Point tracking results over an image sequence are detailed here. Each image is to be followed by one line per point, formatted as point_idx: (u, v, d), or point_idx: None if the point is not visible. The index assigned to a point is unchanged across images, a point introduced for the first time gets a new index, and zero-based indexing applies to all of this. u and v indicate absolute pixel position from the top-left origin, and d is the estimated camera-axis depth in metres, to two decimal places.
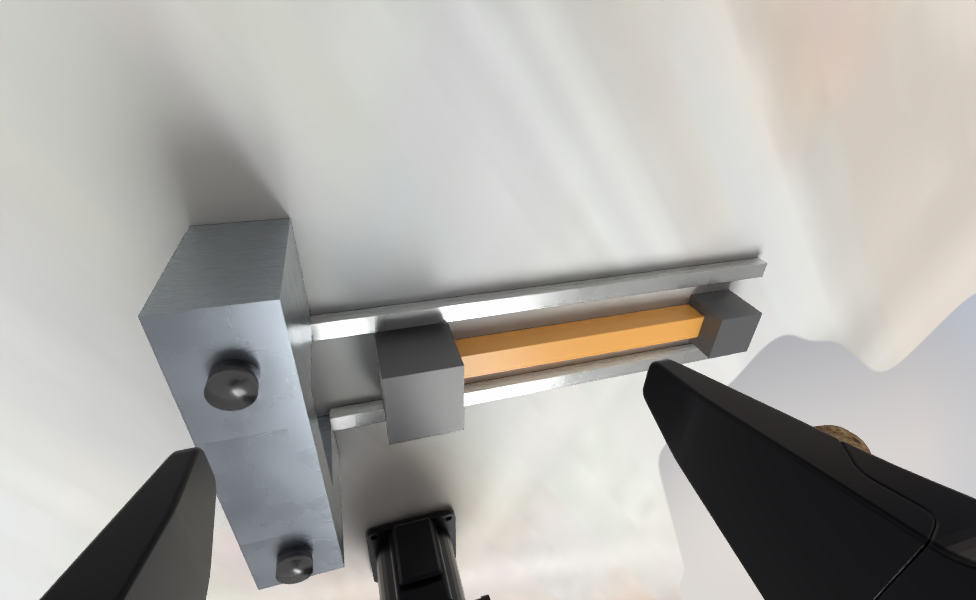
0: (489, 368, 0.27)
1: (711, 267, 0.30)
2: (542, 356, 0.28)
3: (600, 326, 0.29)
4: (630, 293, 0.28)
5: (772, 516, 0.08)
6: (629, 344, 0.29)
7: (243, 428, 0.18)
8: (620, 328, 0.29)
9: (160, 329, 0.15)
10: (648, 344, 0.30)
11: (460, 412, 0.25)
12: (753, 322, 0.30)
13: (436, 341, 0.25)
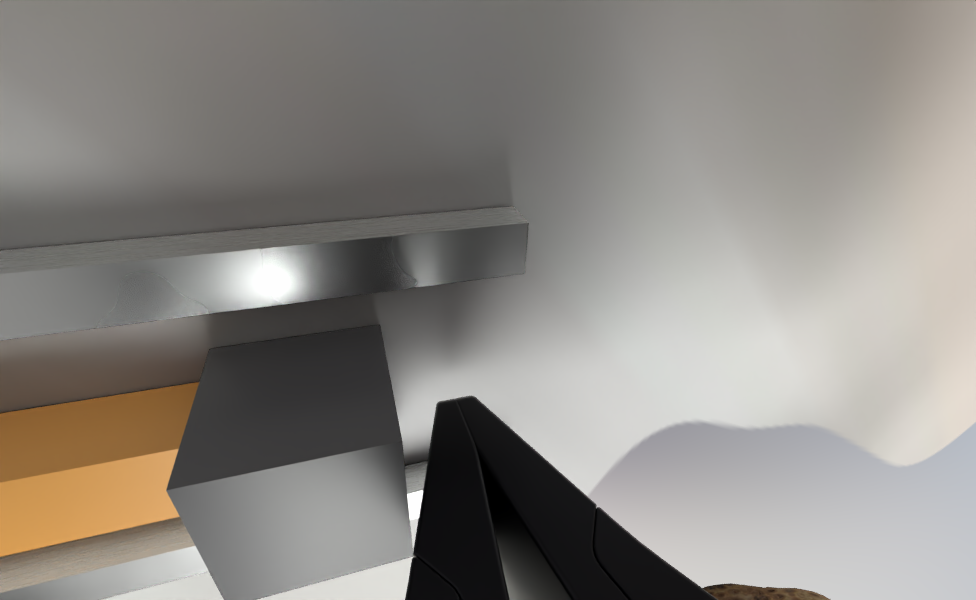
0: None
1: (277, 237, 0.07)
2: None
3: None
4: None
5: (526, 593, 0.07)
6: None
7: None
8: None
9: None
10: None
11: None
12: (375, 475, 0.07)
13: None
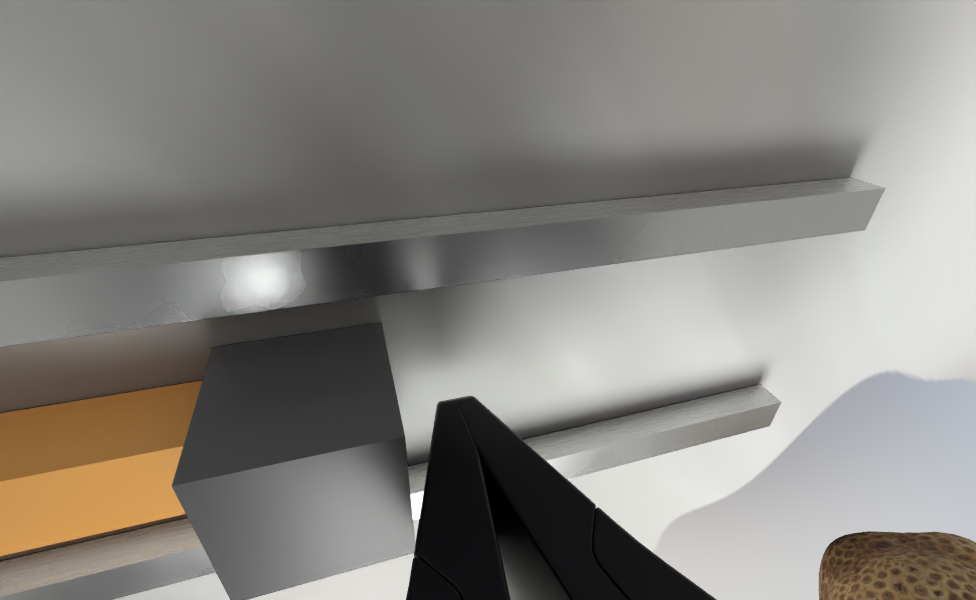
0: None
1: (724, 197, 0.10)
2: None
3: None
4: (452, 276, 0.08)
5: (525, 593, 0.07)
6: None
7: None
8: None
9: None
10: None
11: None
12: (379, 470, 0.07)
13: None
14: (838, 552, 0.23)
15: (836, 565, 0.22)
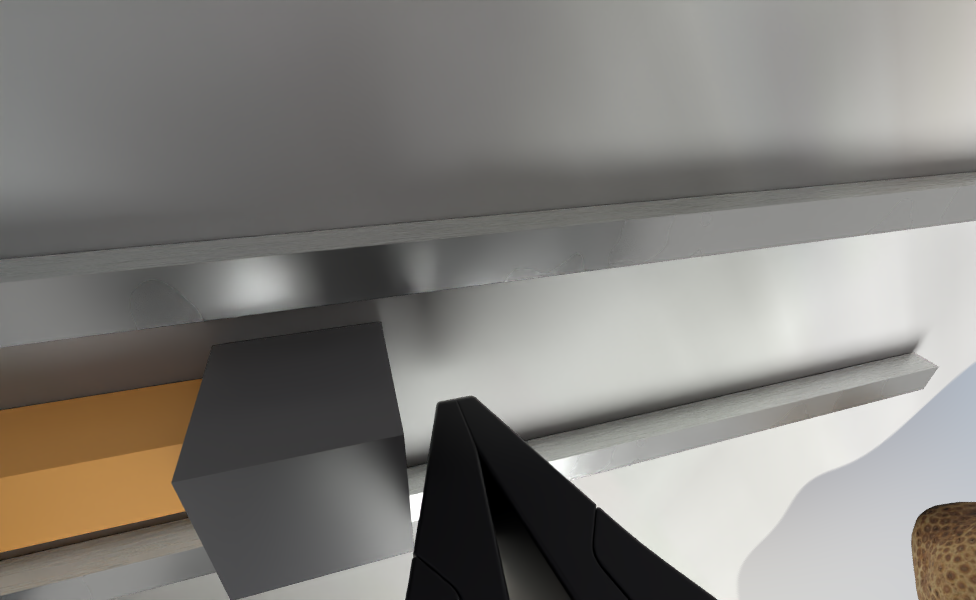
0: None
1: (949, 181, 0.12)
2: None
3: None
4: (759, 241, 0.10)
5: (526, 593, 0.07)
6: None
7: None
8: None
9: None
10: None
11: None
12: (377, 468, 0.07)
13: None
14: (933, 519, 0.25)
15: (933, 531, 0.24)
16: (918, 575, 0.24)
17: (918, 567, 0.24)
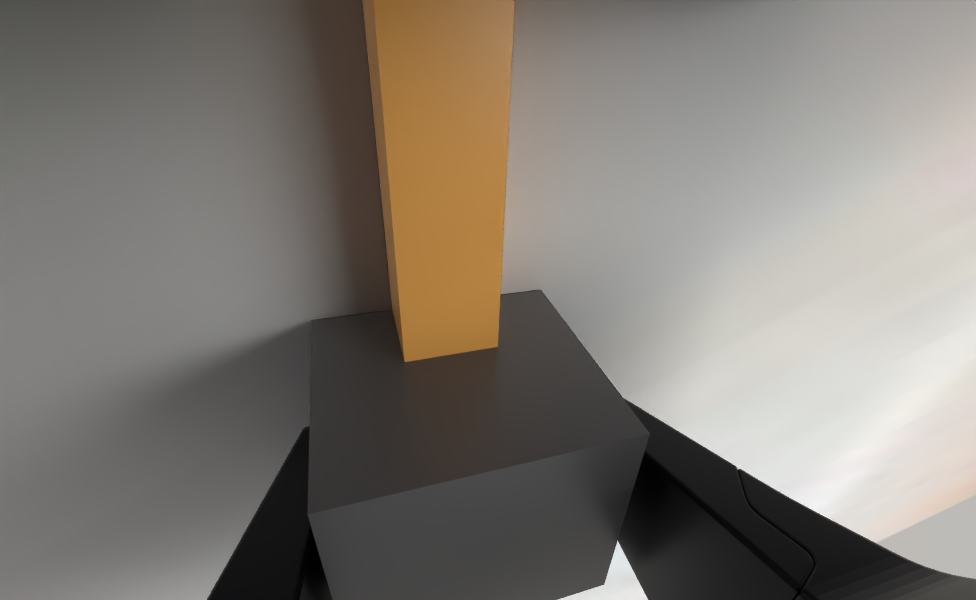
0: (476, 236, 0.07)
1: None
2: None
3: None
4: None
5: (668, 549, 0.07)
6: None
7: None
8: None
9: None
10: None
11: (560, 464, 0.06)
12: None
13: None
14: None
15: None
16: None
17: None
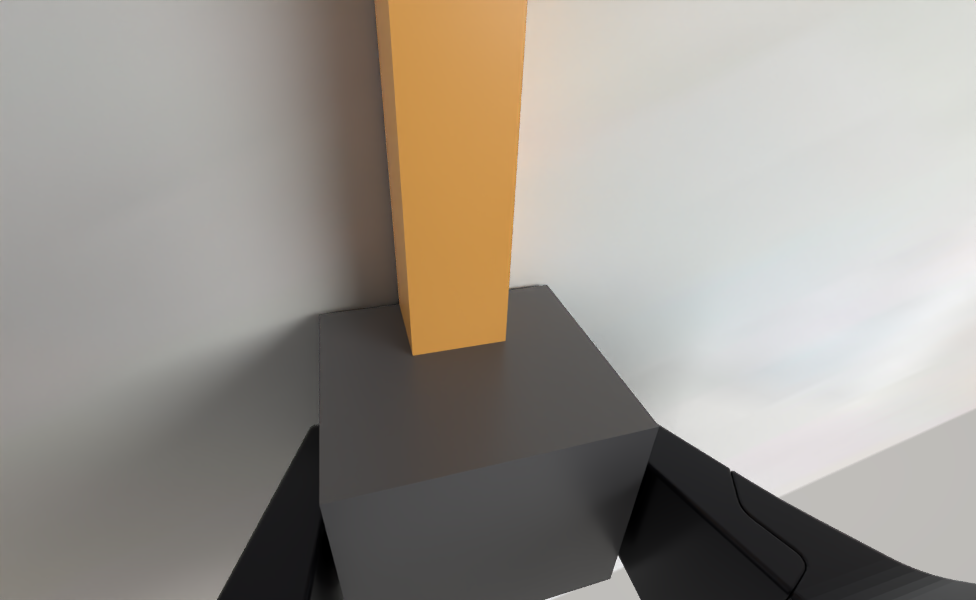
0: (485, 229, 0.07)
1: None
2: None
3: None
4: None
5: (661, 551, 0.07)
6: None
7: None
8: None
9: None
10: None
11: (570, 457, 0.06)
12: None
13: None
14: None
15: None
16: None
17: None
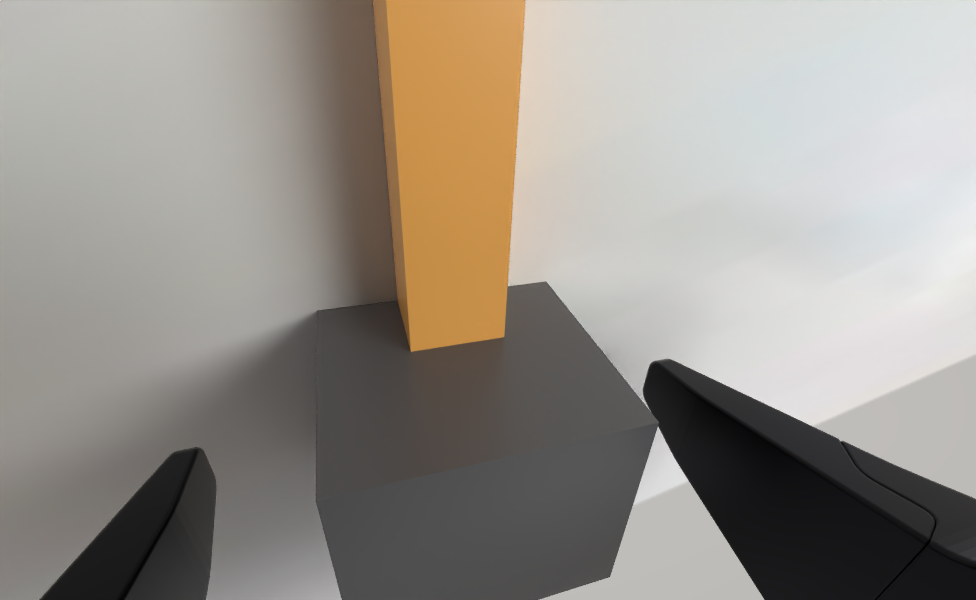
0: (484, 223, 0.07)
1: None
2: None
3: None
4: None
5: (772, 516, 0.08)
6: None
7: None
8: None
9: None
10: None
11: (569, 452, 0.06)
12: None
13: None
14: None
15: None
16: None
17: None
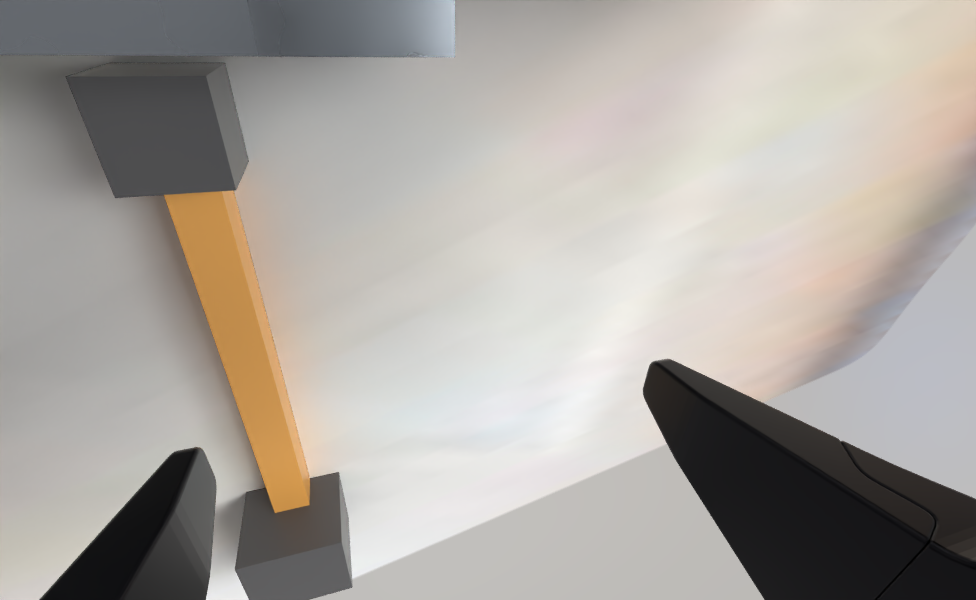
0: (292, 479, 0.22)
1: None
2: (273, 431, 0.20)
3: None
4: None
5: (772, 516, 0.08)
6: (245, 317, 0.17)
7: None
8: None
9: None
10: (243, 282, 0.16)
11: (312, 552, 0.21)
12: (103, 95, 0.12)
13: None
14: None
15: None
16: None
17: None
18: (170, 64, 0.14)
